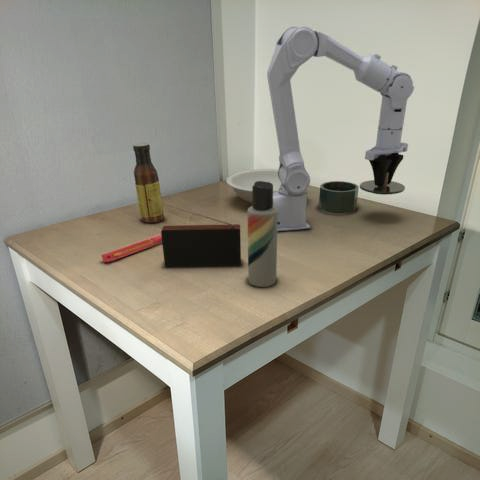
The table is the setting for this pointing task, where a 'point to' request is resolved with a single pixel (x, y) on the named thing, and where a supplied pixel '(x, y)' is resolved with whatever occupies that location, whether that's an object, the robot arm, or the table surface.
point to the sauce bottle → (147, 185)
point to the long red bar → (132, 248)
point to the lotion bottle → (262, 236)
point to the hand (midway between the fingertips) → (382, 184)
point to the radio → (201, 244)
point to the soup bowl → (252, 181)
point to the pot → (338, 197)
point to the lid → (385, 189)
